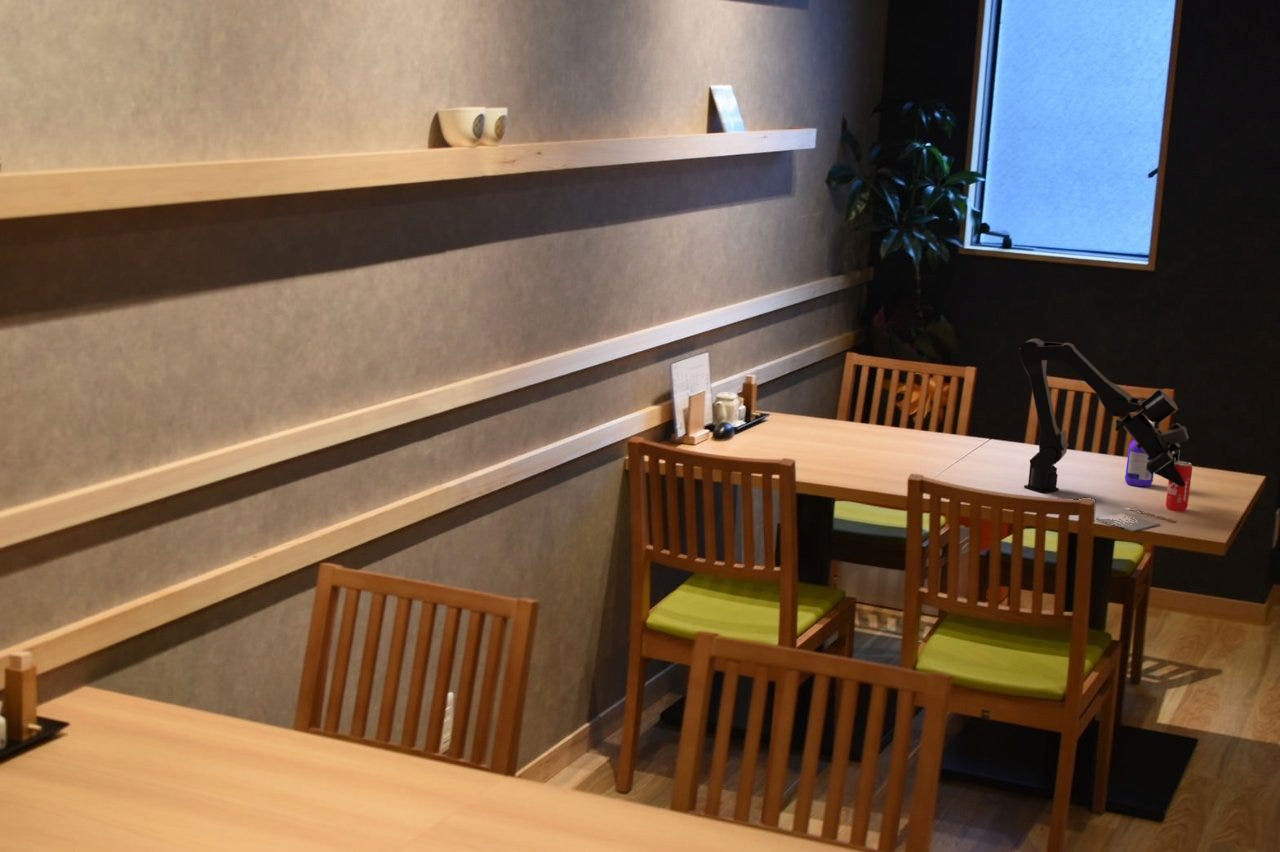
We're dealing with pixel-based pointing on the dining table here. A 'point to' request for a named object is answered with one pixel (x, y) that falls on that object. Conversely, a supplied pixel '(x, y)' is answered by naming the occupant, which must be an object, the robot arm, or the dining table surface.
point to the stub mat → (1135, 526)
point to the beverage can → (1179, 488)
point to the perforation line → (1158, 516)
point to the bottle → (1138, 466)
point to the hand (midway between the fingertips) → (1185, 483)
